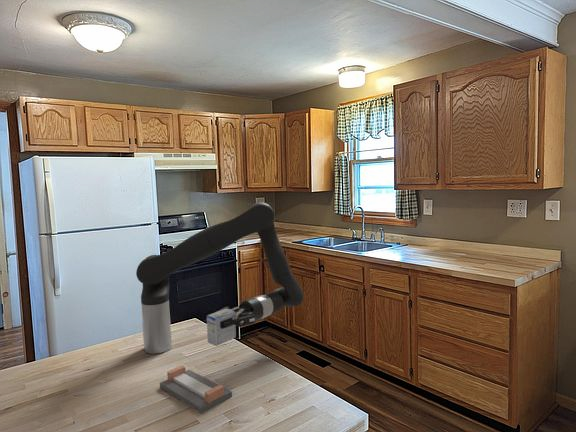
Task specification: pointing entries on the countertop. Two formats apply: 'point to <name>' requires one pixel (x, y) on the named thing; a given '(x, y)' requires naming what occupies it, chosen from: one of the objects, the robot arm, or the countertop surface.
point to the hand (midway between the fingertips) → (215, 323)
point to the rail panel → (194, 389)
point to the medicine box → (214, 330)
